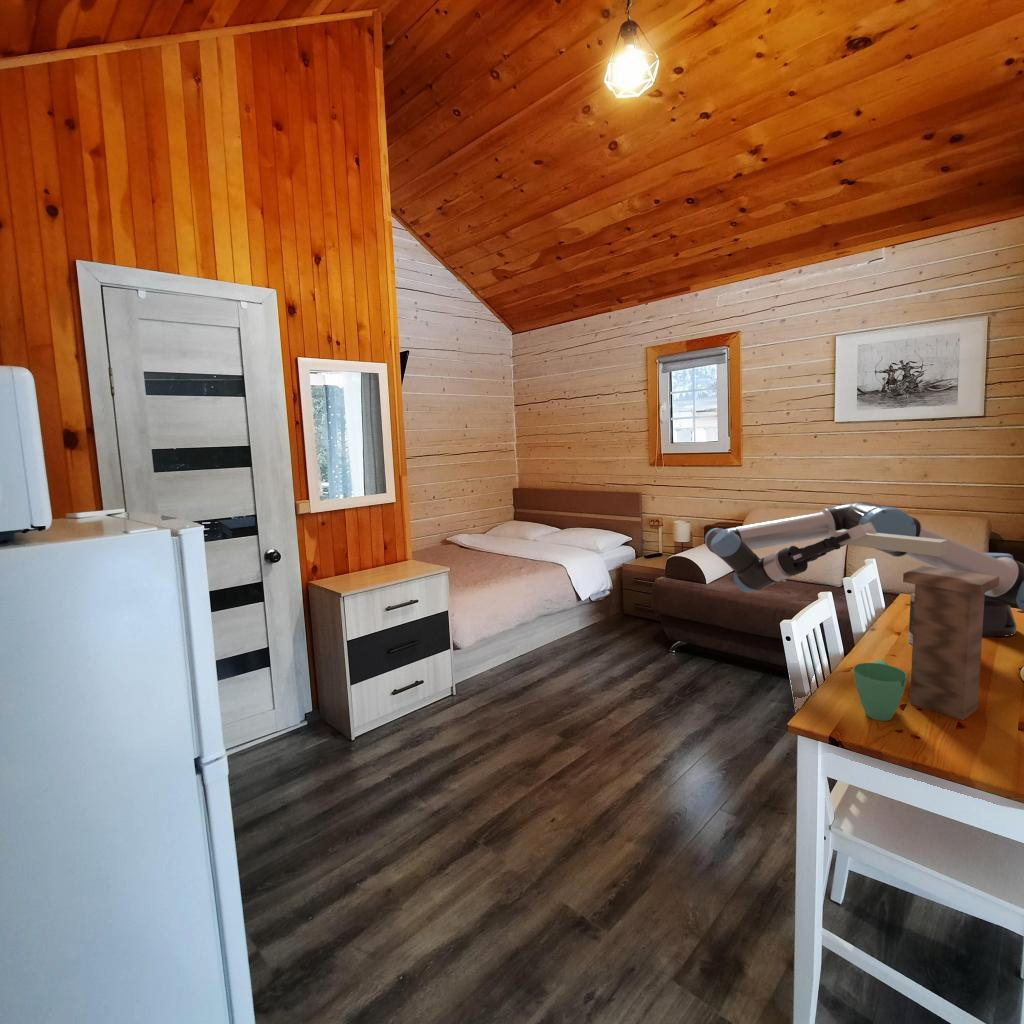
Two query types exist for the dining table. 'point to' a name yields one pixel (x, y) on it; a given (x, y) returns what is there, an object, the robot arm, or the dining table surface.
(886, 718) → the mug
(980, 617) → the pedestal
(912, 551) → the stick
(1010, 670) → the dining table surface
